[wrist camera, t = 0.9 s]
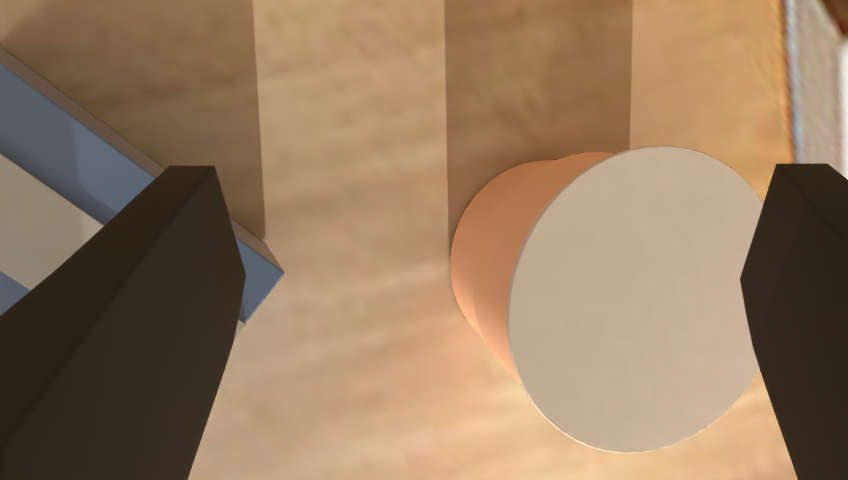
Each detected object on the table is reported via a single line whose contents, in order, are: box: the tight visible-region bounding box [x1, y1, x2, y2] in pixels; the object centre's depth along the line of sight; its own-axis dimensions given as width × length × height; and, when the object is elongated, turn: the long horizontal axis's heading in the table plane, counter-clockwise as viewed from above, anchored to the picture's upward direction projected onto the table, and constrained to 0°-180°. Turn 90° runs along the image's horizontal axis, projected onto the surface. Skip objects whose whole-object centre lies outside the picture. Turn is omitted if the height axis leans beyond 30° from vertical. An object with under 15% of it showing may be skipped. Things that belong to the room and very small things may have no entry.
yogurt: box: [450, 145, 763, 453], centre depth 22 cm, size 8×8×6 cm
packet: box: [0, 46, 284, 339], centre depth 19 cm, size 8×5×4 cm, turn 49°
